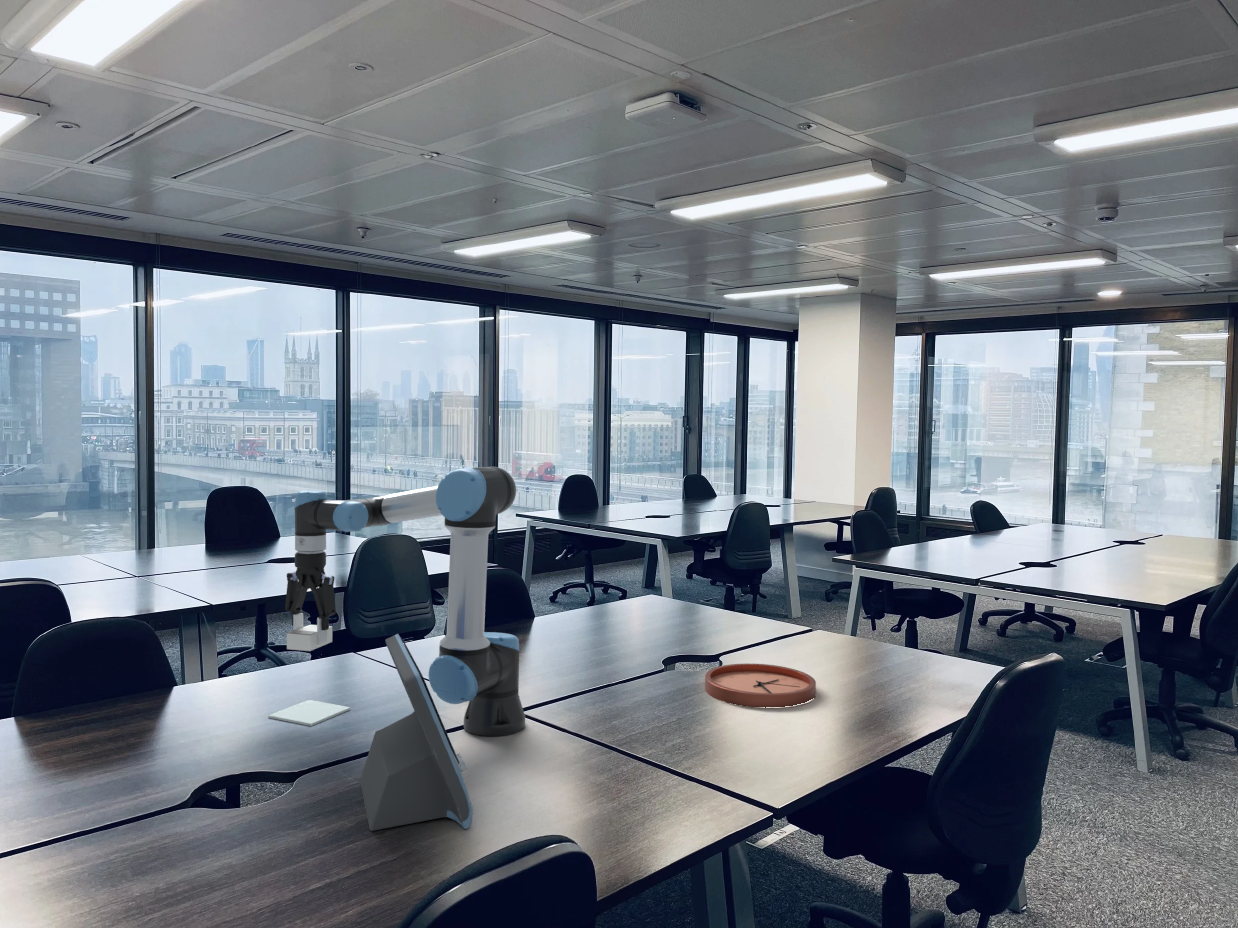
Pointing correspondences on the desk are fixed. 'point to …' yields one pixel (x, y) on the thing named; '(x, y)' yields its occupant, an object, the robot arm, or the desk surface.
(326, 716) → the mat
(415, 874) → the desk surface
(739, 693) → the clock
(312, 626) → the card deck box
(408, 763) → the touchscreen device
